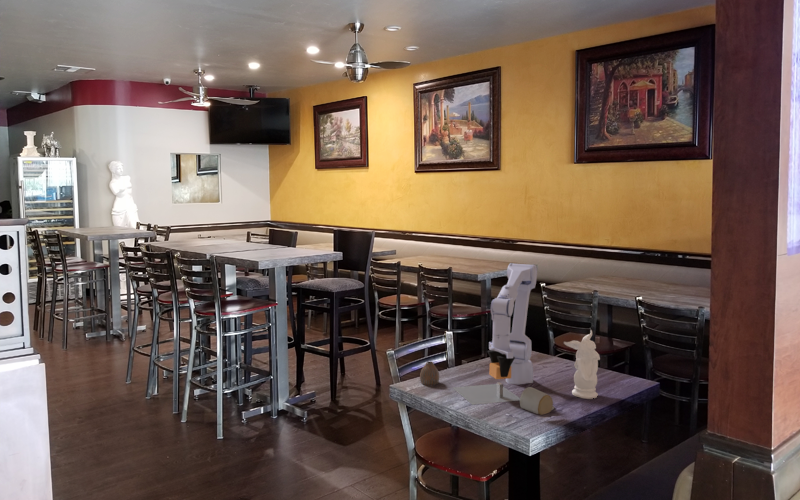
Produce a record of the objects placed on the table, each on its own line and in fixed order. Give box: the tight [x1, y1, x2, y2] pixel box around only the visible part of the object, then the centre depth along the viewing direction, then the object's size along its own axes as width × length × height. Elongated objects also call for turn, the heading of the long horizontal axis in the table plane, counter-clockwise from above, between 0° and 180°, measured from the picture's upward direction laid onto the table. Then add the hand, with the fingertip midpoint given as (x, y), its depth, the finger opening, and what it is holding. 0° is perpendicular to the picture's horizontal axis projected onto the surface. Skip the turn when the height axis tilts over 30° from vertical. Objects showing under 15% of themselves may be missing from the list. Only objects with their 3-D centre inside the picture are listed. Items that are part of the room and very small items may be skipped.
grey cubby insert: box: [496, 381, 504, 398], centre depth 207 cm, size 1×2×4 cm, turn 16°
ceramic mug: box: [519, 386, 555, 416], centre depth 196 cm, size 11×8×8 cm
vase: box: [419, 361, 440, 387], centre depth 221 cm, size 7×7×9 cm
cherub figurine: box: [563, 329, 601, 400], centre depth 214 cm, size 12×12×22 cm
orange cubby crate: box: [488, 362, 511, 380], centre depth 207 cm, size 5×5×4 cm
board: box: [452, 383, 520, 406], centre depth 211 cm, size 18×18×1 cm
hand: (500, 374), depth 207 cm, fingers closed on orange cubby crate, 5 cm apart
